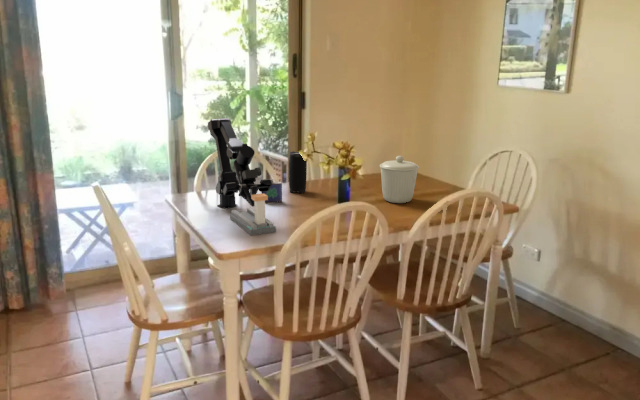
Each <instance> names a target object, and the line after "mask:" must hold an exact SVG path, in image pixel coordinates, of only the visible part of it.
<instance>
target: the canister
mask: <svg viewBox="0 0 640 400" xmlns="http://www.w3.org/2000/svg"><path fill="white" fill-rule="evenodd" d="M379 168H380V177H381V189H382V197H383V199H384V200H385V201H387V202H388V203H394V204H405V203H406V202H407V203H409V202H411V201H412V199H413V197H414V192H415V187H416V182H417V176H418V170H419V169H420V166H419V165H418V164H417V163H415V162H413V161H410V160H409V161H408V160H404V156H402V155H397V156H396V157H395V160H386V161H383V162H382V163H380V164H379Z"/></svg>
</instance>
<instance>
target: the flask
mask: <svg viewBox="0 0 640 400" xmlns="http://www.w3.org/2000/svg"><path fill="white" fill-rule="evenodd" d="M270 180H271V181H272V186H271V188H270V190H269V191H267V192H261V194H263V193H264V194H266V195H267V196H268V200H265V204H270V203H276V204H277V203H283V184H282V182H280V181H278V182H274V180H275V179H274V178H271V179H270Z"/></svg>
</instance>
